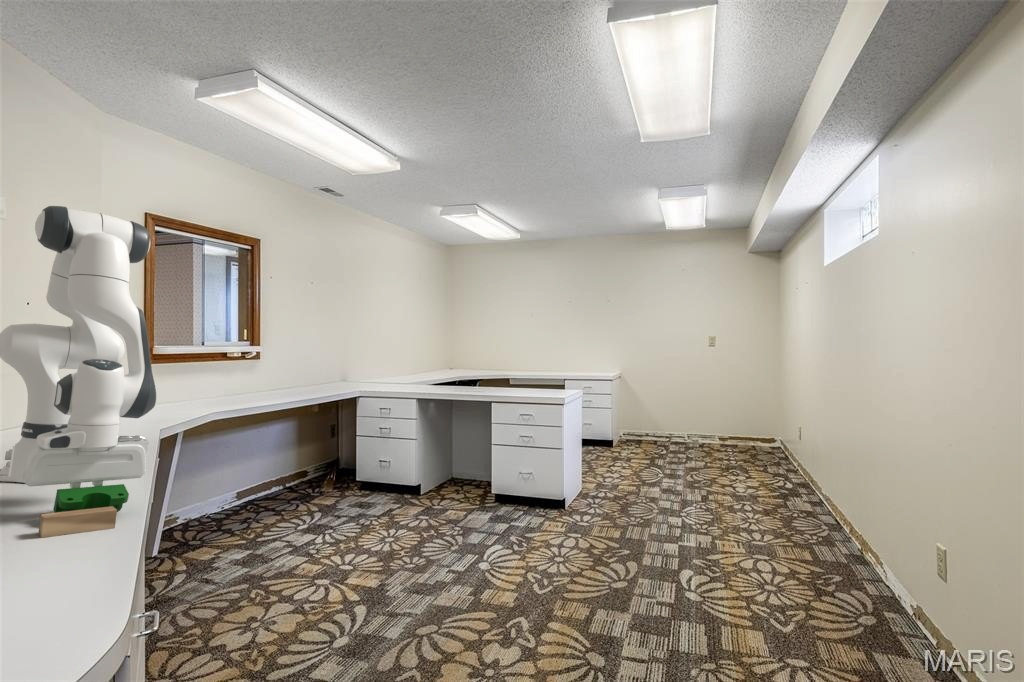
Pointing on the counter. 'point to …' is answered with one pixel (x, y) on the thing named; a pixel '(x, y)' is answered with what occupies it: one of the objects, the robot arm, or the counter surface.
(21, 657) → the counter surface
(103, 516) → the stop rail
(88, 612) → the counter surface
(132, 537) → the counter surface
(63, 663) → the counter surface
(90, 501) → the clamp
